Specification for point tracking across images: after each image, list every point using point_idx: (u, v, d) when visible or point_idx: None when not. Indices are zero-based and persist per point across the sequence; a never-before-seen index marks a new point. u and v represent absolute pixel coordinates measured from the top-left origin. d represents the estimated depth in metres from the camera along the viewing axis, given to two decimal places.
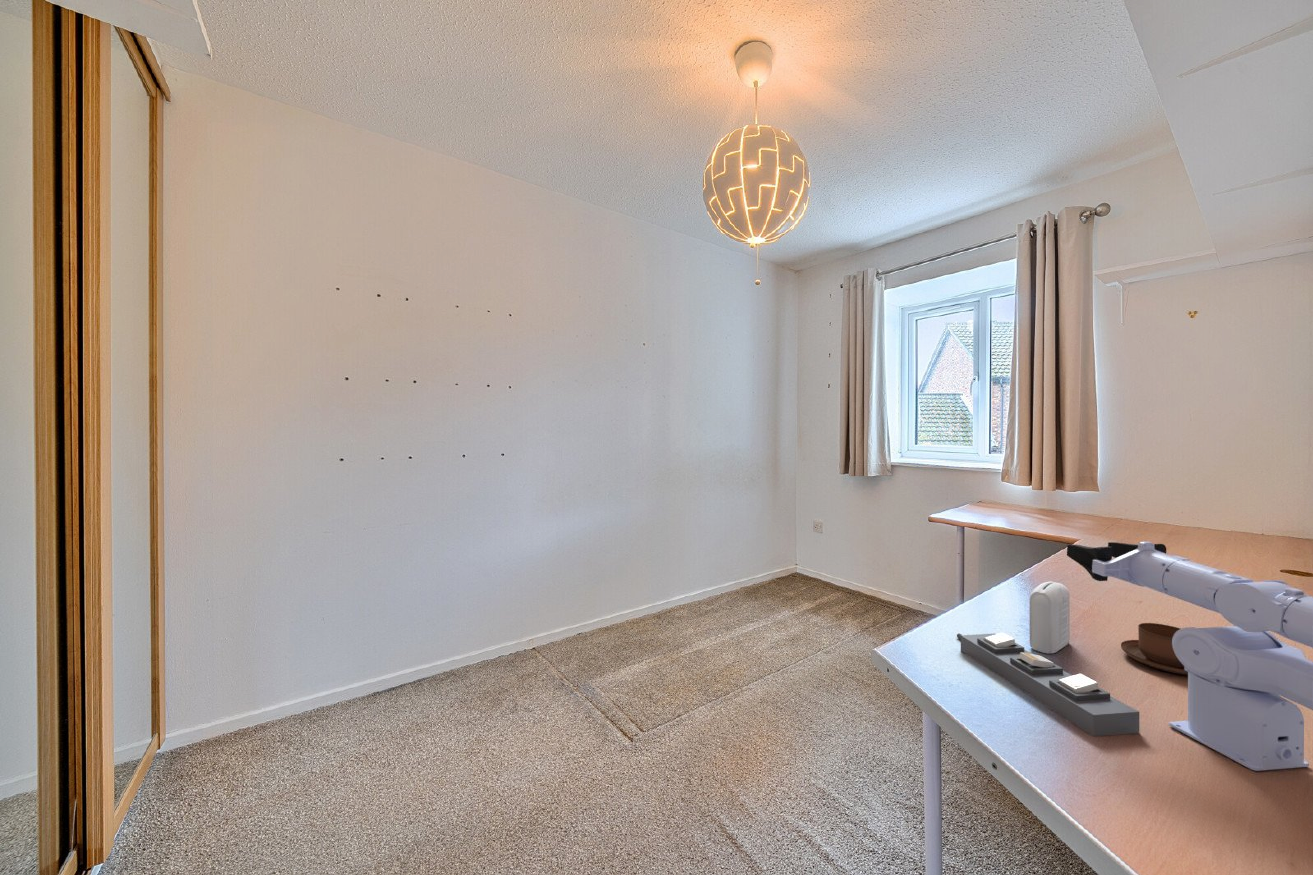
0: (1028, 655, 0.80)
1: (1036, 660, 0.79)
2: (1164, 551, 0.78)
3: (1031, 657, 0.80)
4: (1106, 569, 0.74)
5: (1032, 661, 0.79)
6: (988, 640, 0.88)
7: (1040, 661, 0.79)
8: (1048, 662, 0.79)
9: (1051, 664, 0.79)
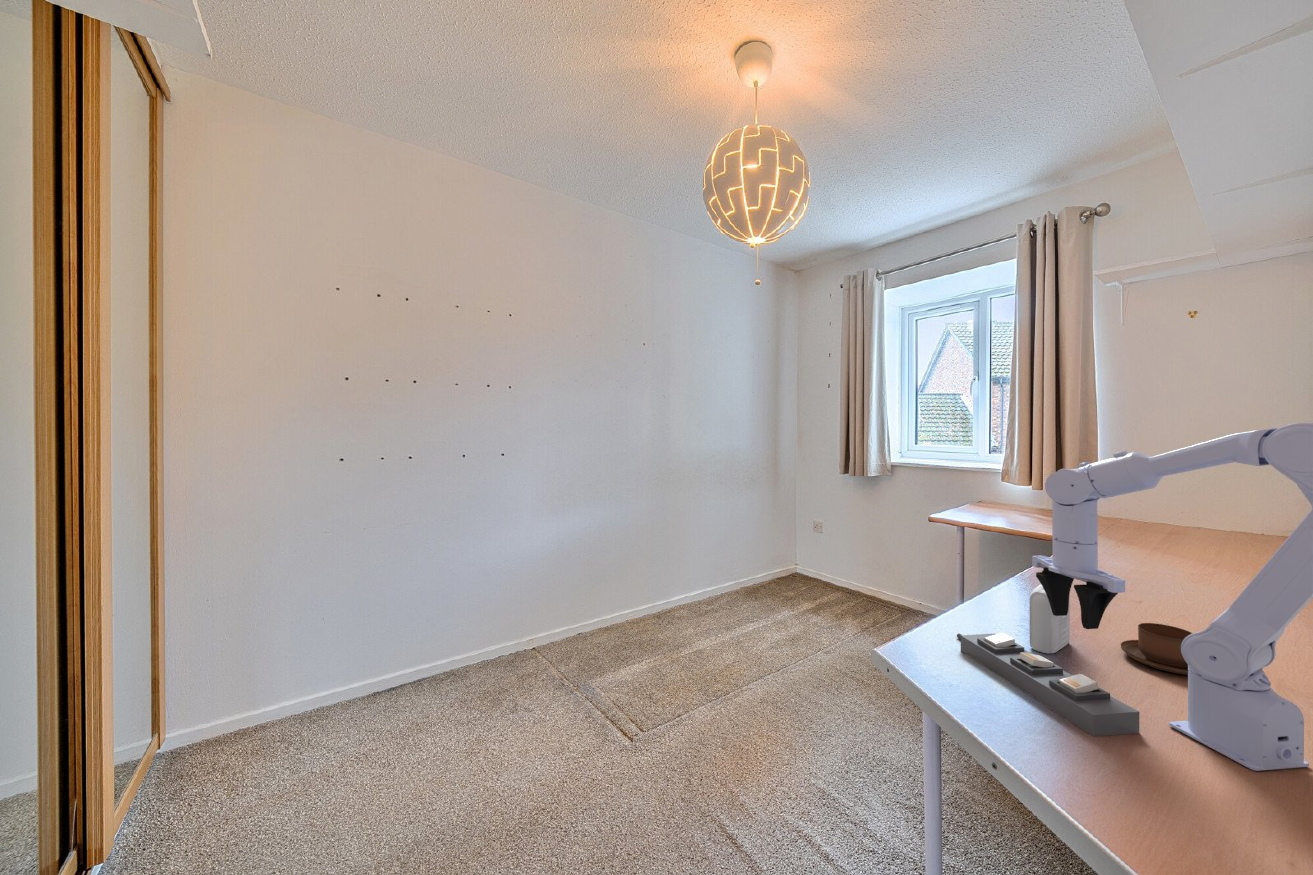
0: (1028, 655, 0.80)
1: (1036, 660, 0.79)
2: (1041, 572, 0.85)
3: (1031, 657, 0.80)
4: (1116, 579, 0.74)
5: (1032, 661, 0.79)
6: (988, 640, 0.88)
7: (1040, 661, 0.79)
8: (1048, 662, 0.79)
9: (1051, 664, 0.79)
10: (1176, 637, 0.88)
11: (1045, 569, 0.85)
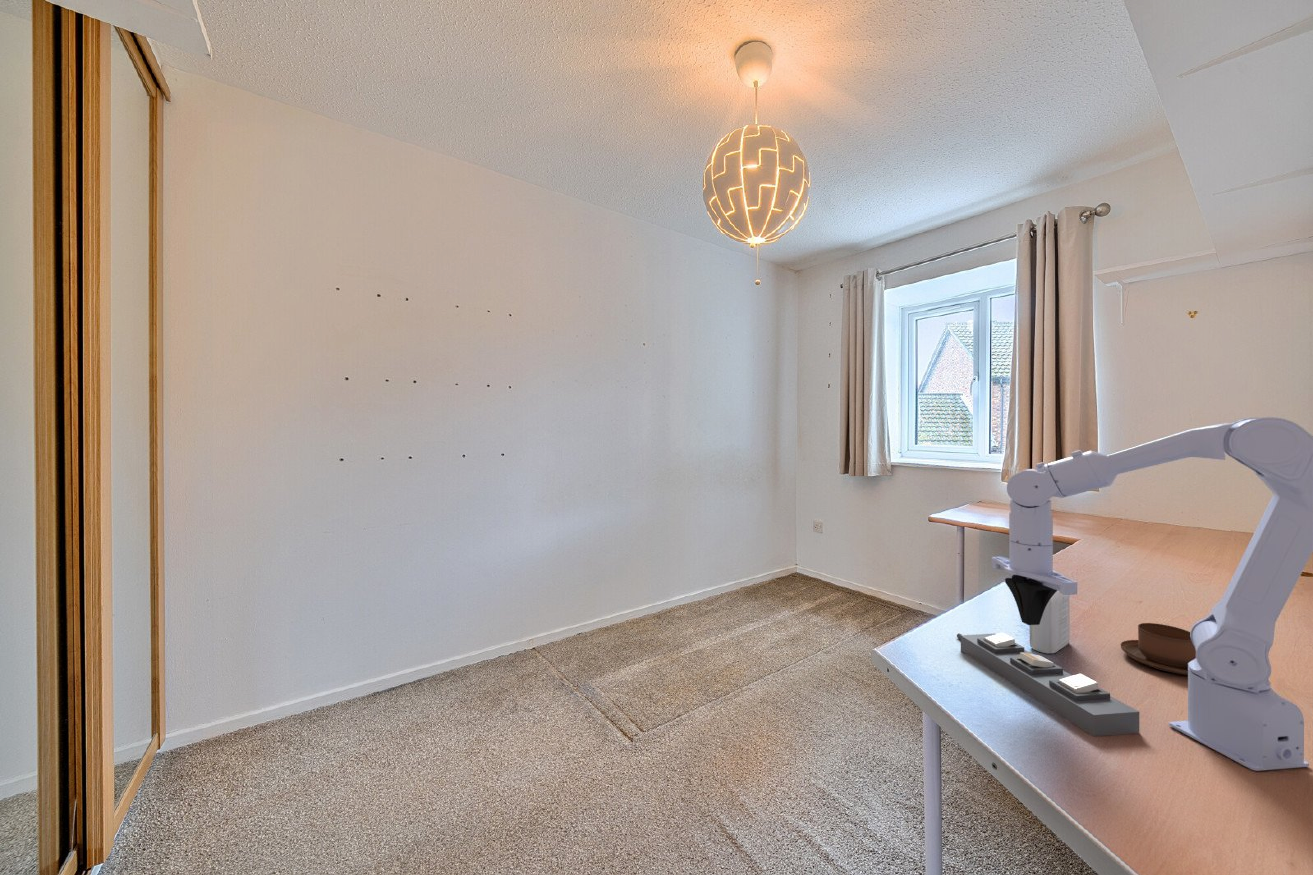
0: (1028, 655, 0.80)
1: (1036, 660, 0.79)
2: (1010, 578, 0.82)
3: (1031, 657, 0.80)
4: (1068, 581, 0.73)
5: (1032, 661, 0.79)
6: (988, 640, 0.88)
7: (1040, 661, 0.79)
8: (1048, 662, 0.79)
9: (1051, 664, 0.79)
10: (1176, 637, 0.88)
11: None
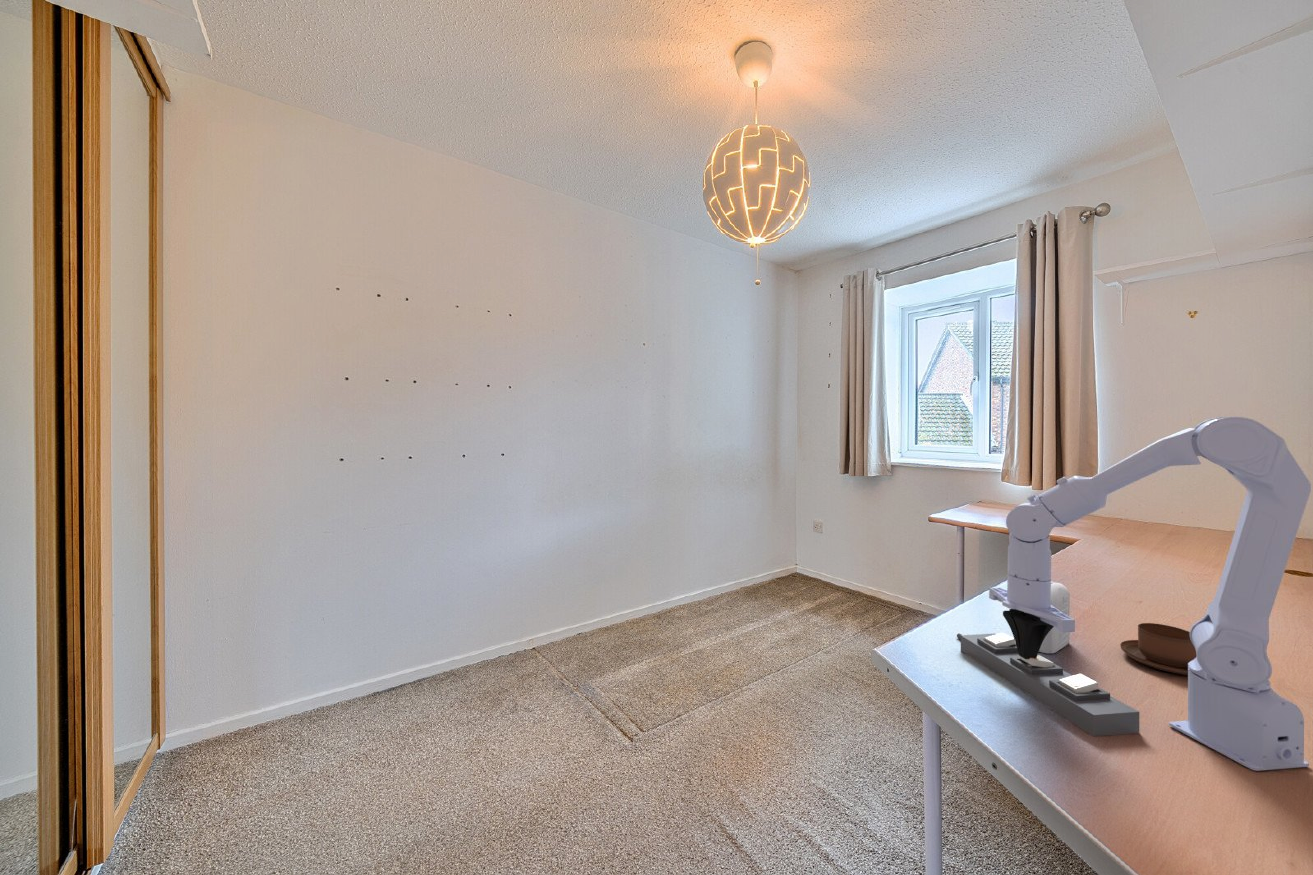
0: None
1: (1036, 660, 0.79)
2: (1008, 611, 0.82)
3: None
4: (1066, 618, 0.73)
5: (1032, 661, 0.79)
6: (988, 640, 0.88)
7: (1040, 661, 0.79)
8: (1048, 662, 0.79)
9: (1051, 664, 0.79)
10: (1176, 637, 0.88)
11: None
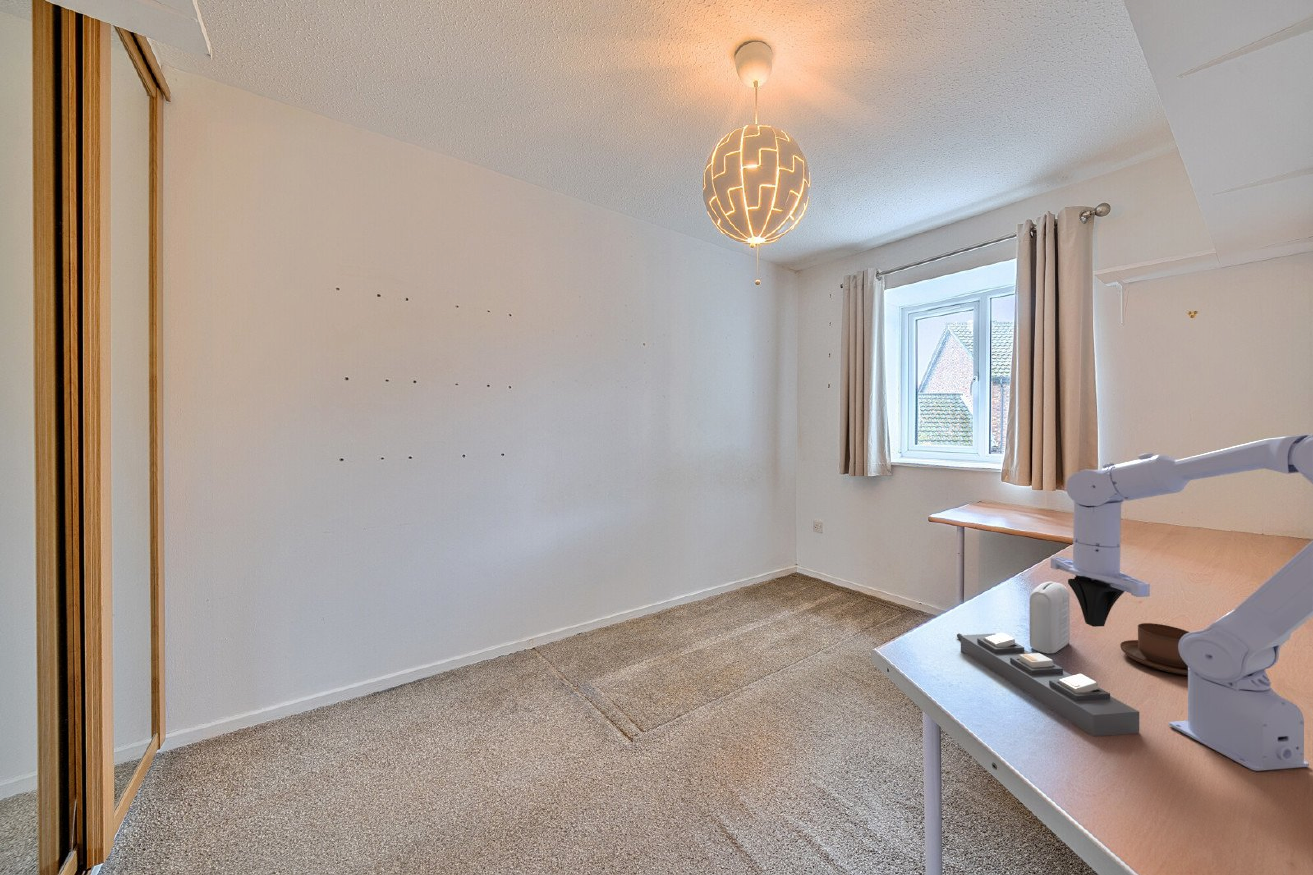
0: (1027, 657, 0.80)
1: (1035, 662, 0.79)
2: (1073, 579, 0.81)
3: (1030, 659, 0.80)
4: (1140, 583, 0.72)
5: (1031, 664, 0.79)
6: (988, 640, 0.88)
7: (1039, 662, 0.79)
8: (1047, 661, 0.79)
9: (1051, 662, 0.79)
10: (1176, 637, 0.88)
11: None
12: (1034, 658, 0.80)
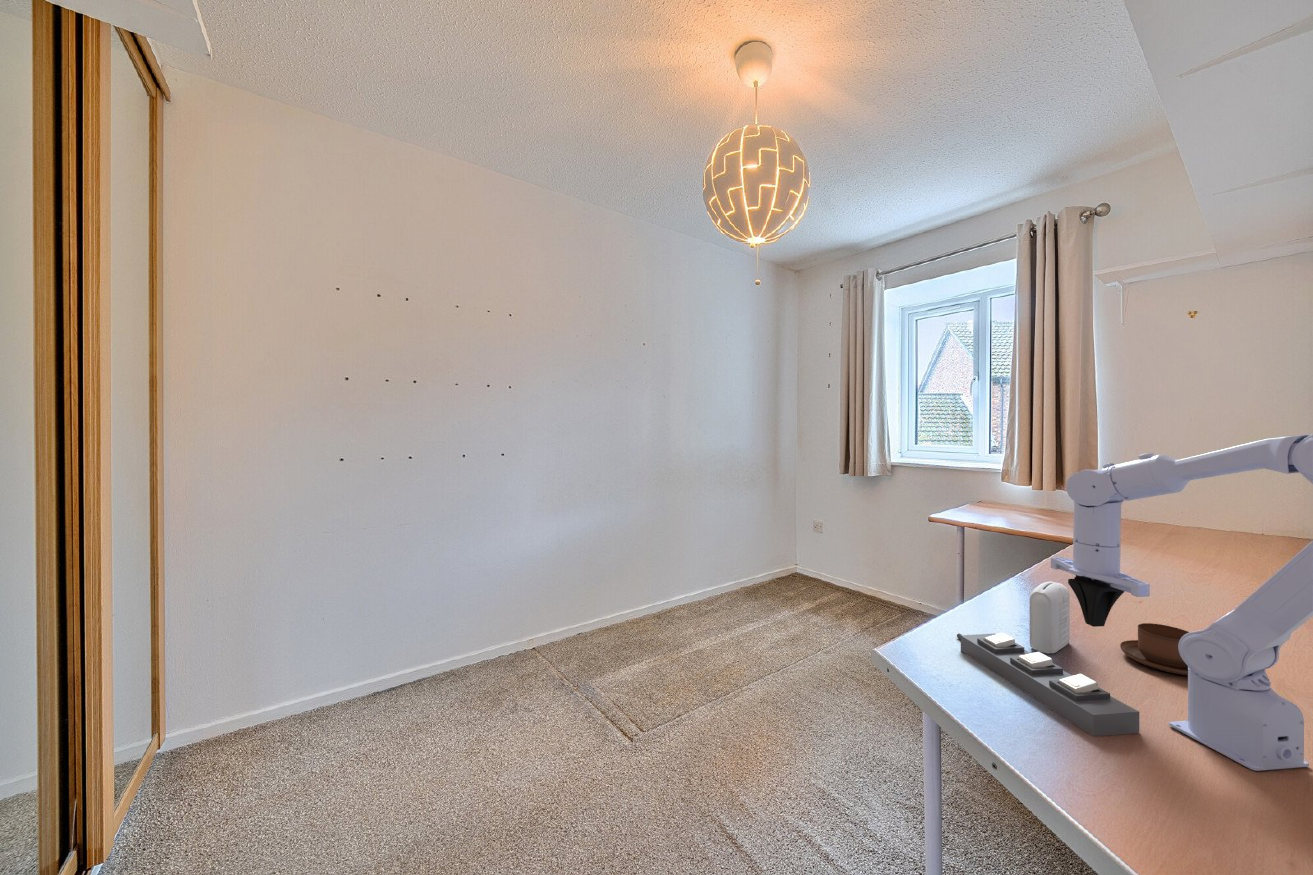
0: (1026, 658, 0.80)
1: (1035, 663, 0.79)
2: (1073, 579, 0.81)
3: (1029, 660, 0.80)
4: (1140, 583, 0.72)
5: (1031, 665, 0.79)
6: (988, 640, 0.88)
7: (1039, 662, 0.79)
8: (1047, 660, 0.79)
9: (1050, 661, 0.79)
10: (1176, 637, 0.88)
11: None
12: (1033, 659, 0.80)
